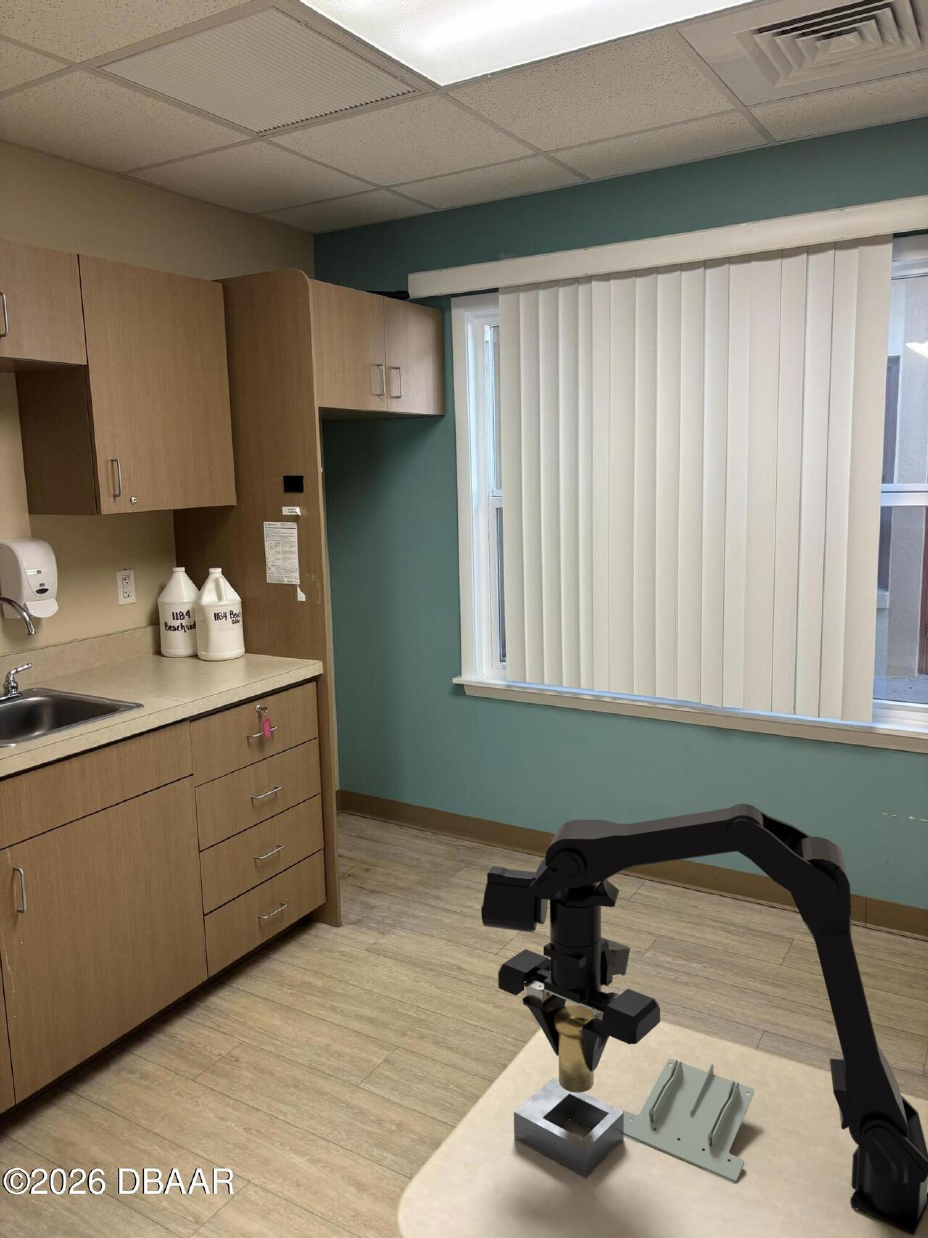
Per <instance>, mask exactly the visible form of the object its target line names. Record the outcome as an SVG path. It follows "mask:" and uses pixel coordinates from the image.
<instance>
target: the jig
mask: <svg viewBox="0 0 928 1238" xmlns="http://www.w3.org/2000/svg"><path fill="white" fill-rule="evenodd" d="M622 1111H623V1110H620V1109H618V1108H616V1107H615V1106H614V1107H613V1106H612V1105H609V1104H608V1103H605V1102H604V1101H602V1100H600V1099H597V1098H596V1097H594V1096H591V1095H590V1094H588V1093H586V1092H581V1093H575V1092H570V1091H567V1090H565V1089H564V1088H562V1087H561V1085H560V1084H559V1079H557V1078H555V1077H553V1078H551V1079H550V1080H549V1081H548V1082H547V1083H546V1084H545V1085H543V1086H542V1087H541V1088H539V1090H537V1091H536V1092H535V1093H534V1094H532V1095H531V1097H529V1098H528V1099H527V1100H526V1101H524V1103H522V1104H521V1105H520V1106H519V1107H518V1108H516V1109H515V1110H514V1111H513V1139H514V1140H516V1141H518V1142H520V1143H521V1144H523V1145H525V1146H527V1147H528V1148H530V1149H532V1150H533V1151H535V1152H537V1153H539V1154H541V1155H542V1156H545V1157H546V1158H548V1159H550V1160H551V1161H554V1162H556V1163H558V1164H559V1165H561V1166H562V1167H564V1168H566V1169H568V1170H570V1171H572V1172H573V1173H575V1174H576V1175H578V1176H580V1177H582V1178H584V1179H587V1177H588V1176H590V1174H592V1173H593V1172H594V1171H595V1169H596V1168H598V1167H599V1165H600V1164H601V1163H602V1162H604V1160H605V1159H606V1158H607V1157H608V1156H609V1155H610V1154H611V1153H612V1152H613V1151H614V1150H615V1149H616V1147H618V1145H620V1144H621V1142H623V1140H624V1138H625V1137H624V1112H622ZM569 1121H571V1122H573V1123H575V1124H576V1125H579V1126H580V1127H583V1128H585V1129H587V1130H589V1131H590V1132H588V1133H587V1134H586V1135H585V1136H584V1137H583V1138H580V1137H579V1136H578V1135H575V1134H574V1133H571V1132H570V1131H567V1130H566V1129H564V1128H563V1127H564V1126H565V1124H566V1123H568V1122H569Z"/></svg>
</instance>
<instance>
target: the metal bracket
mask: <svg viewBox="0 0 928 1238" xmlns="http://www.w3.org/2000/svg"><path fill="white" fill-rule="evenodd" d="M669 1065H671V1066H669ZM660 1072H661V1073H660V1074H659V1077H658V1078H657V1080H656V1082H655V1084H654V1086H653V1087H652V1090H651V1091H650V1093H649V1095H648V1097H647V1098H646V1101H645V1103H644V1105H642V1108H641V1110H640V1112H639V1114H634V1113H632V1112H629V1111H627V1110H621V1111H622V1112H624V1138H625V1139H627V1140H629V1141H632V1142H635V1143H641V1144H644V1145H646V1146H648V1147H651V1148H653V1149H655V1150H657V1151H659V1152H660V1151H661V1152H662V1153H664V1154H667V1155H669V1156H671V1157H674V1158H677V1159H678V1160H681V1161H683V1162H686V1163H688V1164H689V1165H692V1166H695V1167H698V1168H700V1169H702V1170H704V1171H705V1173H707V1174H709V1175H711V1176H714V1177H715V1178H719V1179H720V1180H723V1181H726V1182H728V1183H731V1184H736V1183H737V1182H738V1180H739V1178H740V1175H741V1172H742V1171H743V1168H744V1166H745V1160H744V1159H743V1158H741V1157H738V1156H736V1155H734V1154H732V1153H730V1150H731V1148H732V1147H733V1144H734V1141H735V1139H736V1137H737V1134H738V1132H739V1130H740V1127H741V1125H742V1123H743V1120H744V1118H745V1115H746V1113H747V1111H748V1108H749V1106H750V1104H751V1101H752V1099H753V1097H754V1094H755V1090H754V1088H752V1087H750V1086H747V1085H744V1084H741V1083H740V1082H739V1081H735V1080H730V1079H727V1078H724V1077H722V1076H720V1075H717V1074H715V1073H714V1072H715V1071H714V1063H711V1064H710V1065H709V1068H708V1070H707V1071H706V1070H704V1069H700V1068H697V1067H695V1066H692V1065H690V1064H688V1063H684V1062H683V1061H681V1060H678V1059H673V1058H669V1059H668V1060H667V1061H666V1062H665V1065H664V1067H663V1069H662V1071H660ZM748 1094H749V1095H748Z"/></svg>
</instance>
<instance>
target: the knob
mask: <svg viewBox="0 0 928 1238" xmlns="http://www.w3.org/2000/svg"><path fill="white" fill-rule="evenodd" d="M593 1015H594V1014H593V1010H590V1009H587V1008H585V1007H582V1006H580V1005H578V1004H575V1005H574V1004H573V1005H572V1004H571V1005H565V1007H562V1008H560V1009H559V1010H557V1011H556V1013H555V1015H554V1027H555V1029H556V1030H557V1031H558V1032H559V1056H558V1080H559V1084H560V1085H561V1087H562V1088H564V1089H565V1090H567V1091H570V1092H575V1093H581V1092H583V1093H586V1092H587V1091H589V1090H591V1089H592V1088H593V1086H594V1082H595V1080H594V1074H595V1073H594V1071H595V1070H594V1071H592V1072H591V1071H589V1068H588V1065H587V1061H586V1053H585V1046H584V1038H583V1031H582V1027H583V1026H584V1025H585V1024H586V1023H588V1022H589V1021H590V1020H591V1019H592V1018H593Z"/></svg>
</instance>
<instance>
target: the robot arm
mask: <svg viewBox="0 0 928 1238" xmlns="http://www.w3.org/2000/svg"><path fill="white" fill-rule="evenodd" d="M735 852H737V853H740V854H741V855H743V856H744V857H746V858H747V859H749V860H750V861H751V862H752V863H753V864H755V866H756V867H757V868H759V869H760V870H762V872H764V874H766V875H767V876H768V877H769V878H770V879H771V880H772V881H773V882H774V883H777V884H778V885H779V886H780V887H782V888H784V889H785V890H787V891H789V892H790V895H791V897H792V899H793V902H794V904H795V906H796V908H797V910H798V912H799V915H800V917H801V919H802V921H803V923H804V925H805V926H806V928H807V929H808V931H809V933H810V934H811V937H812V938H813V940H814V943H815V948H816V950H817V951H816V952H817V954H818V959H819V963H820V966H821V972H822V975H823V979H824V982H825V983H824V984H825V987H826V992H827V995H828V999H829V1004H830V1007H831V1008H830V1009H831V1012H832V1016H833V1021H834V1025H835V1028H836V1034H837V1036H838V1040H839V1044H840V1049H841V1055H842V1056H841V1057H842V1058H829V1064H830V1065H829V1068H830V1075H831V1083H832V1091H833V1095H834V1098H835V1101H836V1103H837V1105H838V1110H839V1112H838V1113H839V1120H840V1126H841V1129H842V1130H847V1128H848V1130H849V1135H850V1136H851V1138H852V1140H853V1141H854V1143H855V1144H856V1145H857V1147H856V1149H855V1150H854V1151H853V1154H852V1166H851V1167H852V1168H851V1184H850V1186H851V1188H852V1189H853V1190H854V1192H853V1194H852V1196H851V1197H850V1205H851V1206H852V1207H854V1208H855V1209H858V1210H859V1211H861V1212H863V1213H866V1214H868V1215H869V1216H873V1217H874V1218H876V1219H879V1220H881V1221H883V1222H885V1223H888V1224H889V1225H892V1227H895V1228H898V1229H899V1230H902V1231H903V1232H906V1233H908V1234H911V1235H915V1234H916V1233H917V1231H918V1229H919V1227H920V1224H921V1223H922V1221H923V1218H924V1216H925V1214H926V1212H927V1210H928V1146H927V1142H926V1139H925V1134H924V1131H923V1126H922V1123H921V1118H920V1115H919V1112H918V1110H916V1109H915V1107H913V1105H912V1104H911V1103H910V1102H909V1101H908V1100H907V1099H906V1098H905V1097H904V1096H903V1095H902V1093H901V1089H900V1085H899V1082H898V1080H897V1078H896V1076H895V1074H894V1072H893V1069H892V1068H891V1065H890V1063H889V1060H888V1059H887V1058H886V1056H885V1054H884V1053H883V1050H882V1049H881V1047H880V1046H879V1043H878V1040H877V1036H876V1031H875V1029H874V1024H873V1020H872V1016H871V1011H870V1007H869V1003H868V999H867V995H866V991H865V987H864V984H863V983H864V981H863V979H862V975H861V971H860V967H859V963H858V962H859V961H858V957H857V954H856V949H855V946H854V945H855V944H854V942H853V937H852V900H851V899H852V898H851V897H852V896H851V885H850V880H849V875H848V869H847V865H846V861H845V855H844V854H843V852H842V850H841V848H840V847H839V846H838V845H837V844H836V843H834V842H832V841H831V840H829V839H827V838H824V837H821V836H810V835H809V834H808V833H806V832H804V831H802V830H801V829H800V828H798V827H796V826H795V825H793V824H790V823H788V822H786V821H783V820H781V819H777V818H775V817H773V816H770V815H768V814H767V813H765V812H763V811H761V810H760V809H758V808H757V807H756V806H754V805H751V804H748V803H738V804H735V805H733V806H731V807H727V808H720V809H714V810H707V811H702V812H701V811H700V812H695V813H689V814H682V815H678V816H671V817H664V818H658V819H652V820H645V821H639V822H634V823H618V822H612V821H609V820H605V819H572V820H569V821H567V822H566V821H565V822H564V823H563V824H562V825H561V826H560V827H559V829H558V830H557V832H556V833H555V835H554V837H553V839H552V840H551V843H549V847H548V848H547V850H546V853H545V857H544V859H542V860H541V861H540V864H539V865H538V868H537V869H536V871H528V870H518V869H509V868H506V867H504V866H497V865H492V866H491V868H490V869H489V870H488V872H487V874H486V879H487V880H486V886H485V887H484V895H483V902H482V905H481V907H480V909H481V910H480V911H481V912H480V913H481V920H482V921H481V922H482V924H483V926H484V927H487V928H494V929H502V930H510V931H518V932H527V933H534V932H535V931H536V929H537V925H544V924H545V922H546V919H547V916H548V915H547V914H548V906H549V942H548V943H547V944H545V945H544V946H543V955H542V954H540V953H537V952H534V951H531V950H529V949H526V948H525V949H523V950H522V951H520V952H519V953H517V954H516V955H514V956H513V957H511V958H510V959H508V960H507V961H505V962H504V963H502V964H501V965H500V967H499V968H498V971H497V987H498V989H499V990H502V991H504V992H506V993H509V994H511V995H513V996H518V995H520V994H521V993H522V992H524V991H526V996H525V997H523V998H522V1004H523V1006H525V1007H527V1008H528V1009H529V1011H530V1013H531V1014H532V1016H533V1017H534V1019H535V1020H536V1022H537V1023H538V1025H539V1026H540V1028H541V1030H542V1031H543V1033H544V1036H545V1037H546V1039H547V1041H548V1042H549V1044H550V1046H551V1048H552V1051H553V1052H554V1054H555V1056H558V1057H559V1032H558V1031H557V1030H556V1029H555V1027H554V1015H555V1013H556V1011H557V1010H559V1009H560V1008H562V1007H565V1006H566V1003H567V1001H568V1002H571V1003H573V1004H575V1005H578V1006H582V1007H585V1008H587V1009H590V1010H593V1014H594V1015H593V1018H592V1019H591V1020H590V1021H589V1022H588V1023H586V1024H585V1025H584V1026H583V1027H582V1031H583V1038H584V1046H585V1053H586V1061H587V1065H588V1068H589V1071H591V1072H592V1071H595V1070H596V1069H597V1068H598V1066H599V1062H600V1060H601V1057H602V1055H603V1053H604V1051H605V1049H606V1048H605V1047H606V1045H607V1043H608V1040H609V1038H610V1037H611V1038H613V1039H616V1040H618V1041H621V1042H623V1043H625V1044H628V1045H637V1044H638V1043H639V1042H640V1041H641V1040H642V1039H644V1038H645V1037H646V1036H647V1035H648V1034H649V1033H650V1032H651V1031H653V1029H655V1028H656V1026H658V1025H659V1024H660V1023H661V1007H660V1004H659V1002H658V1001H657V1000H656V998H653V997H650V996H649V995H645V994H643V993H640V992H638V991H635V990H633V989H630V988H627V989H625V990H624V991H623V992H621V993H620V994H619V993H617V992H613V991H612V992H604V991H603V990H602V987H603V986H606V987H608V986H609V985H611V984H612V983H614V982H613V981H614V980H613V976H616V975H617V976H618V975H621V976H622V977H623V976H626V974H627V969H628V963H629V957H630V951H631V947H629V946H628V945H624V944H621V943H619V942H616V941H614V940H611V939H608V938H605V937H602V907H606V908H614V907H615V906H616V904H617V900H618V897H619V894H620V890H619V888H618V887H616V886H615V885H613V883H612V882H610V881H609V880H608V879H609V878H611V877H614V876H615V875H617V874H618V873H619V874H620V872H622V871H625V870H627V869H630V868H634V867H638V866H639V867H640V866H644V865H645V866H646V865H652V864H661V863H667V862H673V861H674V862H675V861H680V860H688V859H695V858H701V857H708V856H715V855H721V854H722V855H723V854H727V853H729V854H730V853H735ZM525 988H526V989H525Z"/></svg>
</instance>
